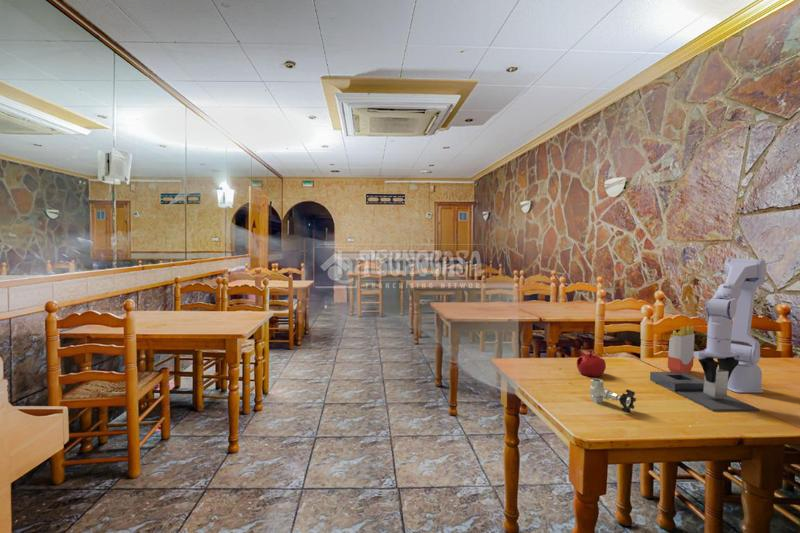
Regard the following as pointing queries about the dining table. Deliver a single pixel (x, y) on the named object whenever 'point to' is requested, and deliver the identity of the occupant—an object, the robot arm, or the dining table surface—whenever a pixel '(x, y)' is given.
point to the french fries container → (681, 350)
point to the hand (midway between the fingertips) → (716, 381)
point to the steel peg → (717, 384)
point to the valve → (610, 395)
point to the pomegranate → (591, 364)
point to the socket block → (678, 381)
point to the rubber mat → (718, 402)
